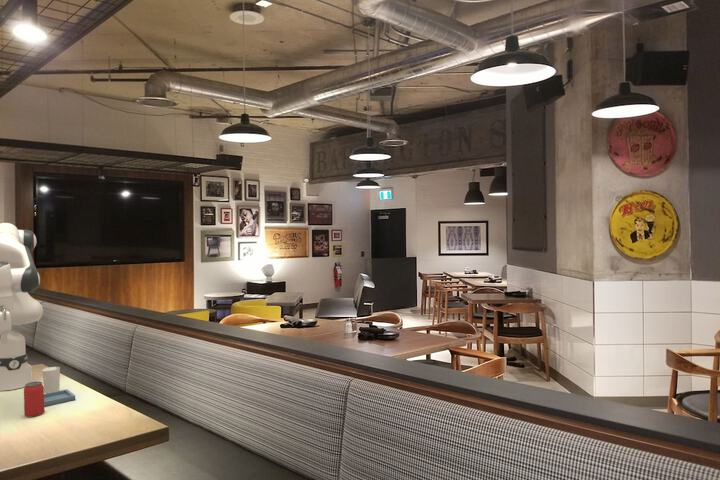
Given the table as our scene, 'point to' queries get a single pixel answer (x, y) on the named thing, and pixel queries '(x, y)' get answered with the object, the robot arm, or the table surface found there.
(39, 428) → the table surface
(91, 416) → the table surface
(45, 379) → the white coffee cup
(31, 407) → the beer can
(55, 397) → the slate tray
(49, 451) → the table surface
